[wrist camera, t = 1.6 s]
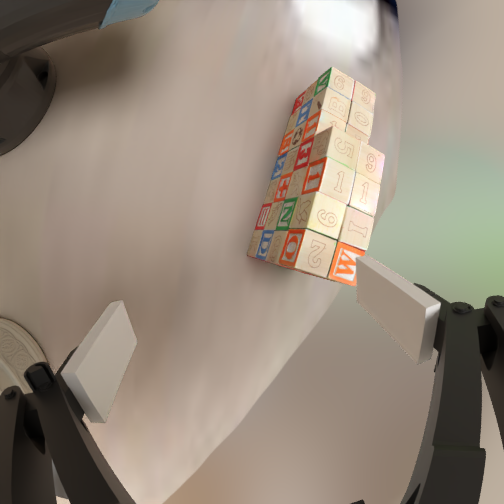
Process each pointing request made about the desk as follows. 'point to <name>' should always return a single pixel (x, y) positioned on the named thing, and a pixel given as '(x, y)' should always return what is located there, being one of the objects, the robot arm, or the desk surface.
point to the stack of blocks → (323, 183)
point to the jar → (16, 355)
